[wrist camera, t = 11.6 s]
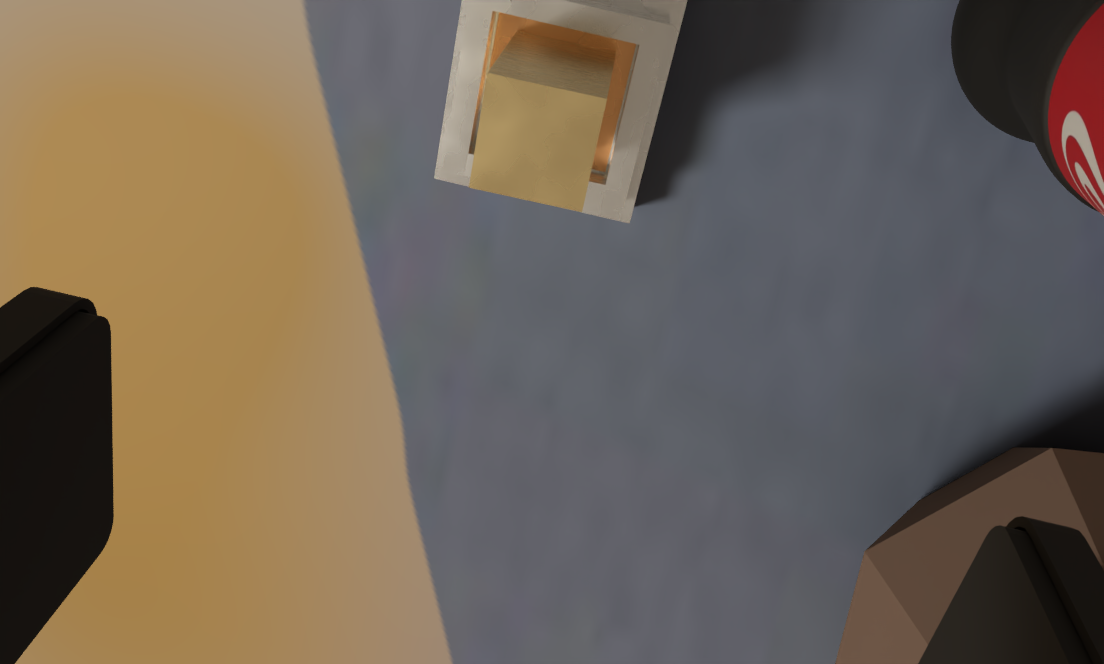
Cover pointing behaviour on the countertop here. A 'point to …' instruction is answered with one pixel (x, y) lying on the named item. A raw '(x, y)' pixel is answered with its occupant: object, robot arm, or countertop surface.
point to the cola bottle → (1039, 80)
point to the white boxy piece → (633, 98)
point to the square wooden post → (541, 120)
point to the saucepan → (962, 545)
